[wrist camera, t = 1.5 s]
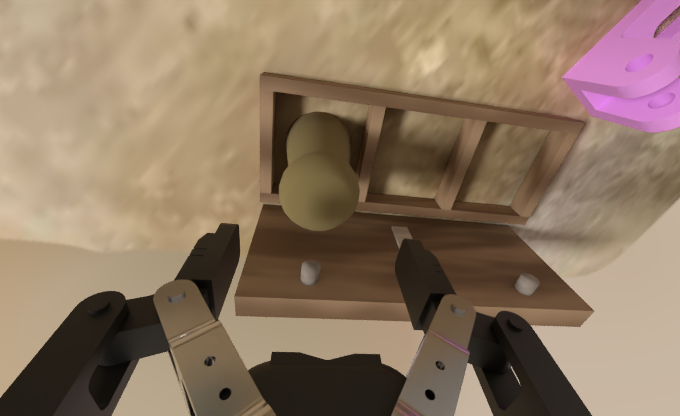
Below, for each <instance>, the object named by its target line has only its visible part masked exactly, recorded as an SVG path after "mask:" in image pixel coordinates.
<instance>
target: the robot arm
mask: <svg viewBox="0 0 680 416" xmlns="http://www.w3.org/2000/svg"><path fill="white" fill-rule="evenodd" d="M239 257H240V239H239V225H238V224H227V223H221V224H220V225H219V227H218V229H217V231H216V233H207V234H206V235H204V236H203V237H201V238H200V239H199V240H198V241H197V243H196V245H195V246H194V249H193V250H192V251H191V253H190V256H189V257H188V258H187V260H186V261H185V263H184V265H183V266H182V268H181V270H180V271H179V273H178V275H177V277H176V278H175V280H174V281H171V282H169V283H166V284H164V285H163V286H161V287H160V288H159V289H158V290H157V291H156V293H155V294H153V295H150V296H146V297H140V298H135V299H130V300H126V299H125V296H124V295H123V294H122V293H120V292H116V291H106V292H101V293H97V294H95V295H92V296H90V297H88V298H86V299H85V300H83V301H81V302H80V303H79V304H78V305H77V306H76V307H75V308H74V309H73V311H72V312H71V313H70V314H69V316H68V317H67V318H66V319H65V320H64V321H63V323H62V324H61V325H60V327H59V328H58V329H57V330H56V331H55V332H54V334H53V335H52V336H51V337H50V338H49V340H48V341H47V342H46V343H45V344H44V346H43V347H42V348H41V349H40V350H39V352H38V353H37V354H36V355H35V357H34V358H33V359H32V360H31V362H30V363H29V364H28V365H27V366H26V368H25V369H24V370H23V371H22V372H21V373H20V375H19V376H18V377H17V378H16V380H15V381H14V382H13V383H12V384H11V386H10V387H9V388H8V389H7V391H6V392H5V393H4V394H3V395H2V397H1V398H0V416H111V415H112V413H113V411H114V409H115V407H116V405H117V403H118V401H119V399H120V397H121V395H122V393H123V391H124V389H125V387H126V385H127V383H128V381H129V379H130V377H131V375H132V373H133V371H134V369H135V367H136V365H137V363H138V361H139V359H140V358H143V357H147V356H151V355H155V354H159V353H163V352H167V351H168V354H169V357H170V360H171V362H172V365H173V368H174V371H175V374H176V377H177V379H178V382H179V385H180V387H181V390H182V394H183V397H184V400H185V403H186V406H187V409H188V412H189V415H190V416H454V413H455V410H456V406H457V402H458V398H459V394H460V390H461V386H462V382H463V378H464V374H465V370H466V366H467V363H470V364H472V365H473V368H474V370H475V372H476V375H477V377H478V379H479V382H480V384H481V387H482V389H483V392H484V394H485V396H486V399H487V401H488V404H489V406H490V408H491V411H492V413H493V416H592V415H591V413H590V412H589V411H588V409H587V408H586V406H585V405H584V404H583V402H582V400H581V399H580V397H579V396H578V395H577V393H576V391H575V390H574V389H573V387H572V386H571V384H570V383H569V381H568V380H567V378H566V377H565V375H564V374H563V372H562V371H561V370H560V368H559V367H558V365H557V364H556V362H555V361H554V359H553V358H552V356H551V355H550V353H549V352H548V351H547V349H546V347H545V346H544V345H543V343H542V342H541V340H540V339H539V337H538V336H537V334H536V333H535V331H534V330H533V329H532V327H531V326H530V324H529V323H528V322H527V321H526V320H525V319H523V318H522V317H521V316H519V315H517V314H515V313H513V312H510V311H500V312H499V313H498V314H497V315H496V317H491V316H488V315H485V314H482V313H479V312H476V311H475V309H474V307H473V306H472V304H471V303H470V302H468V301H467V300H466V299H464V298H463V297H460V296H458V295H457V294H456V293H455V291H454V289H453V287H452V285H451V283H450V281H449V280H448V278H447V276H446V274H445V273H444V270H443V269H442V267H441V265H440V263H439V261H438V259H437V257H435V256H434V255H433V254H432V253H431V252H430V251H429V250H425V249H424V247H423V245H422V243H421V241H420V240H418V239H406V238H404V239H403V241H402V243H401V246H400V249H399V252H398V255H397V258H396V262H395V274H396V277H397V280H398V283H399V286H400V289H401V292H402V295H403V298H404V301H405V304H406V307H407V310H408V313H409V316H410V319H411V322H412V326H413V328H414V330H423V331H424V334H425V336H424V337H423V340H422V342H421V344H420V346H419V348H418V351H417V353H416V355H415V358H414V360H413V362H412V364H411V367H410V369H409V371H408V373H407V375H406V377H405V376H404V375H402V374H401V373H400V372H398V371H397V370H395V369H393V368H392V367H390V366H387V365H385V364H382V363H381V358H380V354H352V355H348V356H344V357H339V358H335V359H332V360H324V359H320V358H317V357H314V356H310V355H307V354H303V353H300V352H298V353H297V352H272V355H271V361H268V362H264V363H262V364H259V365H257V366H255V367H253V368H251V369H249V370H247V368H246V367H245V365H244V363H243V361H242V359H241V358H240V356H239V354H238V352H237V350H236V348H235V347H234V345H233V343H232V341H231V339H230V338H229V336H228V334H227V332H226V330H225V328H224V327H223V325H222V323H221V322H220V321H219V320H218V317H219V315H220V312H221V309H222V306H223V303H224V301H225V298H226V295H227V293H228V290H229V287H230V284H231V281H232V278H233V276H234V273H235V270H236V268H237V265H238V262H239ZM511 366H512V368H513V370H514V372H515V373H516V375H517V377H518V379H519V382H520V384H519V382H518V380H517V379H516V377H515V375H514V373H513V371H512V369H511ZM520 385H521V386H520Z"/></svg>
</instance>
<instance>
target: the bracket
mask: <svg viewBox="0 0 680 416" xmlns="http://www.w3.org/2000/svg"><path fill="white" fill-rule="evenodd" d="M679 6H680V0H641V1H640V2H639V3H638V4H637V5H636V6H635V7H634V8H633V9H632V10H631V11H630V12H629V13H628V14H627V15H626V16H625V17H624V18H623V19H622V20H621V21H620V22H619V23H618V24H617V25H615V26H614V27H613V28H612V29H611V30H610V31H609V32H608V33H607V34H606V35H605V36H604V37H603V38H602V39H601V40H600V41H599V42H598V43H597V44H596V45H595V46H594V47H593V48H592V49H591V50H590V51H589V52H588V53H587V54H586V55H585V56H583V57H582V58H581V59H580V60H579V61H578V62H577V63H576V64H575V65H574V66H573V67H572V68H571V69H570V70H569V71H568V72H567V73H566V74H565V75H564V76H563V77H562V78H563V80H564V81H565V82H566V84H567V85H568V86H569V87H570V89H571V90H572V91H573V93H574V94H575V95H576V97H577V98H578V99H579V101H580V102H581V103H582V104H583V106H584V107H585V108H586V110H587V111H588V112H589V114H590V115H591V116H593V117H596V118H600V119H603V120H607V121H610V122H614V123H617V124H621V125H624V126H627V127H631V128H634V129H638V130H641V131H645V132H663V131H668V130H671V129H675V128H677V127H680V78H677V77H678V76H680V16H679V17H678V18H677V19H676V20H674V21H673V22H672V23H671V24H670V25H669V26H668V27H667V28H666V29H664V30H663V31H662V32H661V33H660V34H659V35H658V36H657V37H656V38H654V33H655V30H656V28H657V27H658V25H659V24H660V23H661V22H662V21H663V20H664V19H665V18H666V17H668V16H669V15H670V14H671V13H672V12H673V11H674V10H675V9H676V8H677V7H679Z"/></svg>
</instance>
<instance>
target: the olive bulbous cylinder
mask: <svg viewBox="0 0 680 416" xmlns="http://www.w3.org/2000/svg"><path fill="white" fill-rule="evenodd" d="M350 148H351V141H350V136H349V132H348V130H347V129H346V127H345V125H344V124H343V123H342V122H341V121H340V120H339V119H338V118H337V117H335V116H333V115H331V114H328V113H325V112H312V113H308V114H304V115H303V116H301V117H300V118H298V119H297V120H295V122H294V123H293V124H292V125H291V127H290V128H289V131H288V134H287V137H286V150H287V159H288V167H287V169H286V170H285V171H284V173H283V176H282V178H281V181H280V184H279V199H280V203H281V205H282V208H283V210H284V212H285V214H286V215H287V216H288V217H289V218H290V219H291V221H293V222H294V223H296V224H298V225H299V226H301V227H302V228H305V229H309V230H312V231H326V230H330V229H334V228H336V227H338V226H340V225H342V224H343V223H345V222H346V221H347V220H348V219H349V218H350V217H351V216H352V215H353V213H354V211H355V209H356V207H357V205H358V200H359V194H360V189H359V184H358V179H357V176H356V174H355V173H354V171H353V170H352V168H351V166H350V165H349V163H350Z"/></svg>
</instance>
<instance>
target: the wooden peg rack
mask: <svg viewBox="0 0 680 416" xmlns="http://www.w3.org/2000/svg"><path fill="white" fill-rule="evenodd" d="M276 92H282V93H289V94H296V95H303V96H310V97H317V98H324V99H332V100H339V101H346V102H353V103H360V104H367V105H369V109H368V114H367V119H366V124H365V130H364V135H363V140H362V145H361V150H360V156H359V161H358V166H357V171H356V176H357V179H358V184H359V189H360V194H359V200H358V205H357V207H356V209H355V210H360V211H371V212H383V213H394V214H406V215H417V216H429V217H440V218H452V219H463V220H475V221H486V222H498V223H509V224H521V225H525V224H526V222H527V220H528V219H529V217H530V215H531V213H532V212H533V210H534V208H535V207H536V205H537V203H538V202H539V200H540V198H541V197H542V195H543V193H544V192H545V190H546V188H547V186H548V185H549V183H550V181H551V180H552V178H553V176H554V175H555V173H556V171H557V170H558V168H559V166H560V165H561V163H562V161H563V160H564V158H565V156H566V154H567V153H568V151H569V149H570V148H571V146H572V144H573V143H574V141H575V139H576V138H577V136H578V134H579V133H580V131H581V129H582V127H583V126H584V124H585V123H583V122H580V121H577V120H574V119H571V118H567V117H561V116H554V115H547V114H541V113H534V112H527V111H520V110H514V109H507V108H500V107H494V106H487V105H480V104H474V103H467V102H460V101H454V100H447V99H440V98H433V97H427V96H420V95H413V94H407V93H400V92H393V91H387V90H380V89H373V88H367V87H360V86H353V85H347V84H340V83H333V82H326V81H320V80H313V79H306V78H300V77H293V76H286V75H280V74H273V73H266V72H264V73H262V74H261V75H260V202H268V203H280V199H279V184H274V157H275V119H276ZM386 107H388V108H395V109H402V110H410V111H417V112H424V113H431V114H438V115H445V116H452V117H459V118H464V121H463V123H462V126H461V129H460V131H459V134H458V137H457V140H456V142H455V145H454V148H453V150H452V153H451V156H450V159H449V161H448V164H447V167H446V169H445V172H444V175H443V177H442V180H441V183H440V186H439V188H438V191H437V194H436V196H435V199H425V198H415V197H404V196H394V195H384V194H373V193H367V190H368V186H369V181H370V177H371V172H372V168H373V163H374V159H375V154H376V150H377V145H378V141H379V136H380V132H381V127H382V123H383V118H384V114H385V109H386ZM487 121H488V122H495V123H502V124H509V125H516V126H523V127H530V128H537V129H544V130H551V131H550V133H549V135H548V136H547V138H546V140H545V142H544V144H543V146H542V148H541V149H540V151H539V153H538V155H537V157H536V159H535V161H534V162H533V164H532V166H531V168H530V170H529V172H528V174H527V176H526V177H525V179H524V181H523V183H522V185H521V187H520V189H519V190H518V192H517V194H516V196H515V198H514V200H513V202H512V203H511V205H510V207H508V206H498V205H488V204H477V203H467V202H456V201H455V198H456V196H457V193H458V191H459V189H460V186H461V184H462V181H463V179H464V176H465V174H466V172H467V169H468V167H469V164H470V162H471V159H472V157H473V155H474V152H475V150H476V147H477V145H478V143H479V140H480V138H481V135H482V133H483V130H484V128H485V126H486V123H487ZM280 204H281V203H280ZM404 238H406V239H418V240H420V241H421V243H422V245H423V247H424V249H425V250H429V251H430V252H431V253H432V254H433V255H434V256H435V257H437V259H438V261H439V263H440V265H441V267H442V269H443V270H444V273H445V274H446V276H447V278H448V280H449V281H450V283H451V285H452V287H453V289H454V291H455V293H456V294H457V295H458V296H460V297H463V298H464V299H466V300H467V301H468V302H470V303H471V304H472V306H473V307H474V309H475V311H476V312H479V313H482V314H485V315H488V316H491V317H496V315H497V314H498V313H499V312H500V311H510V312H513V313H515V314H517V315H519V316H521V317H522V318H523V319H525V320H526V321H527V322H528V323H529V324H530V325H540V326H541V325H542V326H572V327H573V326H574V327H580V326H581V325H582V324H583V323H584V322H585V321H586V320H587V319H588V318H589V317H590V315H591V314H592V313H593V312H594V310H593V309H592V308H591V307H590V306H589V305H588V304H587V303H586V302H585V301H584V300H583V299H582V298H581V297H580V296H579V295H578V294H577V293H575V291H574V290H572V289H571V288H570V287H569V286H568V285H567V284H566V283H565V282H564V281H563V280H562V279H561V278H560V277H559V276H558V275H557V274H556V273H555V272H554V271H553V270H552V269H551V268H550V267H549V266H548V265H547V264H546V263H545V262H544V261H543V260H542V259H541V258H540V257H539V256H538V255H537V254H536V253H535V252H534V251H533V250H532V249H531V248H530V247H529V246H528V245H527V244H526V243H525V242H524V241H523V240H522V239H521V238H520V237H519V236H518V235H517V234H516V233H515V232H514V231H513V230H512V229H511V228H510V227H509V226H508V225H496V224H485V223H473V222H461V221H450V220H438V219H427V218H415V217H403V216H392V215H380V214H368V213H357V212H354V213H353V215H352V216H351V217H350V218H349V219H348V220H347V221H346V222H345V223H343V224H342V225H340V226H338V227H336V228H334V229H330V230H326V231H312V230H309V229H305V228H302V227H301V226H299V225H298V224H296V223H294V222H293V221H291V219H290V218H289V217H288V216H287V215H286V214H285V212H284V210H283V208H282V206H275V205H263V207H262V210H261V214H260V217H259V220H258V223H257V226H256V230H255V233H254V236H253V239H252V242H251V245H250V249H249V252H248V255H247V258H246V261H245V264H244V268H243V271H242V274H241V277H240V280H239V283H238V287H237V290H236V293H235V311H236V316H258V317H291V318H322V319H353V320H355V319H356V320H383V321H411V319H410V316H409V313H408V310H407V307H406V304H405V301H404V298H403V295H402V292H401V289H400V286H399V283H398V280H397V277H396V274H395V262H396V258H397V255H398V252H399V249H400V246H401V243H402V241H403V239H404Z"/></svg>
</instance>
